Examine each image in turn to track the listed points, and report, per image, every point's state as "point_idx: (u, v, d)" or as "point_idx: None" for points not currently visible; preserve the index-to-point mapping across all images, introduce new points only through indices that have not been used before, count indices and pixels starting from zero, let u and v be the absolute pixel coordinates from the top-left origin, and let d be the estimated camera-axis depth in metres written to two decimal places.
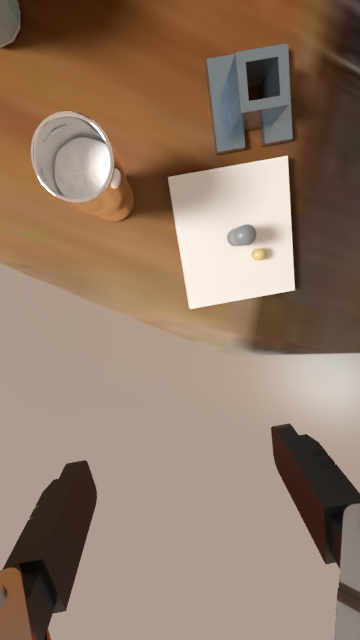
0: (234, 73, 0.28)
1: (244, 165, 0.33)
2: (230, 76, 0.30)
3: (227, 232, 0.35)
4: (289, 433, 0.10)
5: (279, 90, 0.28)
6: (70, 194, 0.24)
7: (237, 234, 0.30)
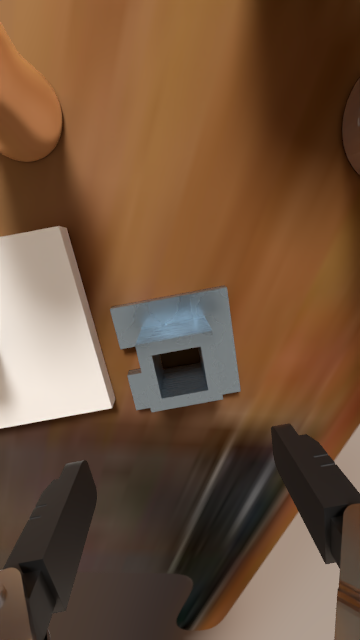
0: (193, 330, 0.19)
1: (92, 350, 0.22)
2: (199, 322, 0.20)
3: None
4: (289, 433, 0.10)
5: (168, 396, 0.19)
6: None
7: None
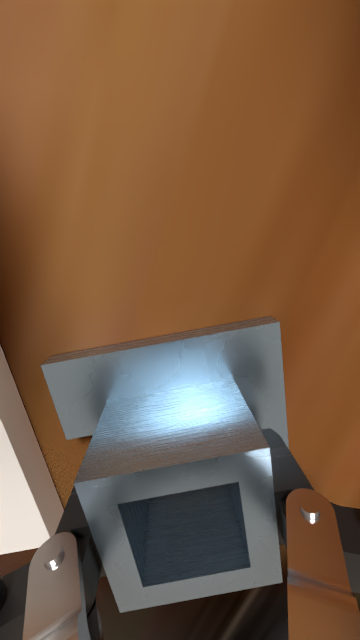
0: (217, 432, 0.08)
1: (6, 447, 0.11)
2: (226, 398, 0.10)
3: None
4: None
5: (160, 578, 0.08)
6: None
7: None
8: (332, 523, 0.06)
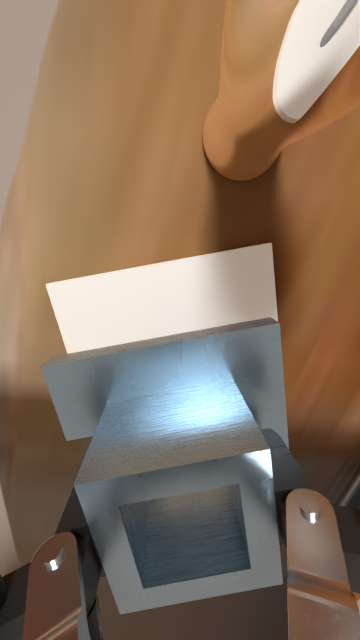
0: (217, 433, 0.08)
1: None
2: (226, 399, 0.10)
3: None
4: None
5: (160, 579, 0.08)
6: None
7: None
8: (332, 523, 0.06)
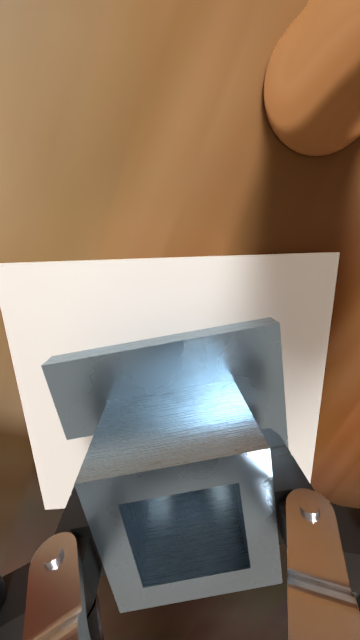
0: (217, 432, 0.08)
1: (314, 418, 0.16)
2: (226, 399, 0.10)
3: None
4: None
5: (160, 578, 0.08)
6: None
7: None
8: (332, 523, 0.06)
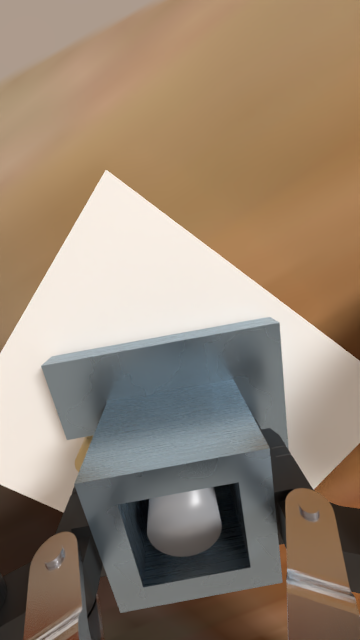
0: (217, 432, 0.08)
1: None
2: (225, 398, 0.10)
3: None
4: None
5: (160, 578, 0.08)
6: None
7: (210, 508, 0.08)
8: (331, 523, 0.06)
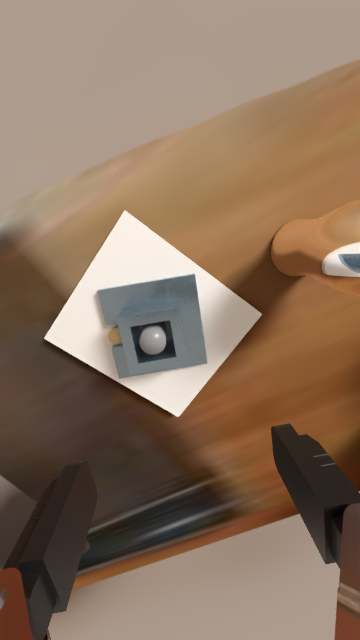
0: (164, 307, 0.23)
1: (205, 381, 0.30)
2: (171, 302, 0.25)
3: (166, 322, 0.28)
4: (289, 433, 0.10)
5: (144, 361, 0.23)
6: None
7: (161, 334, 0.23)
8: None
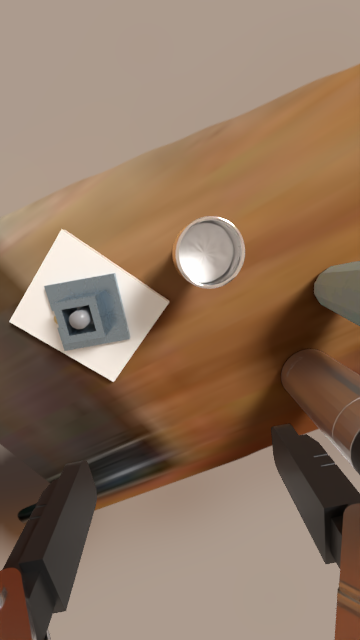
0: (86, 296, 0.33)
1: (131, 353, 0.40)
2: (95, 293, 0.35)
3: None
4: (289, 433, 0.10)
5: (74, 334, 0.34)
6: (205, 228, 0.27)
7: (84, 314, 0.33)
8: None
